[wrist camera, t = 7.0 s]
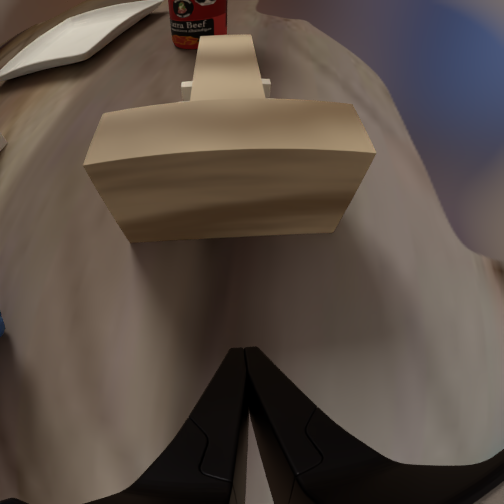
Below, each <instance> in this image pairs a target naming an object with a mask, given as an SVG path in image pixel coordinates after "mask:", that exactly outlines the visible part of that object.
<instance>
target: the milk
mask: <svg viewBox="0 0 504 504" xmlns="http://www.w3.org/2000/svg"><path fill="white" fill-rule="evenodd" d="M7 143H8V142H7V141H6V140H5V138H4V137H3V135H2V134H1V133H0V151H1V150H2V149H3V148H4V146H5V145H6V144H7Z"/></svg>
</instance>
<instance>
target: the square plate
mask: <svg viewBox="0 0 504 504" xmlns="http://www.w3.org/2000/svg"><path fill="white" fill-rule="evenodd" d="M163 1H164V0H146V1H138V2H131V3H124V4H118V5H113V6H109V7H104V8H100V9H96V10H93V11H89V12H86V13H83V14H80V15H77V16H74V17H71V18H68V19H67V20H65V21H63V22H62V23H60V24H59V25H57V26H55V27H54V28H52V29H51V30H49V31H48V32H46V33H45V34H43V35H42V36H40V37H39V38H37V39H36V40H35V41H33V42H32V43H31V44H29V45H28V46H27V47H25V48H24V49H23V50H22V51H21V52H19V53H18V54H17V55H16V56H15V57H14V58H13V59H12V60H11V61H9V62H8V63H7V64H6V65H5V66H4V67H3V68H2V69H1V70H0V81H4V80H9V79H12V78H16V77H19V76H22V75H26V74H29V73H33V72H37V71H40V70H44V69H49V68H53V67H58V66H62V65H67V64H72V63H76V62H80V61H84V60H87V59H88V58H90V57H91V56H93V55H94V54H95V53H97V52H98V51H100V50H101V49H102V48H103V47H105V46H106V45H107V44H108V43H110V42H111V41H112V40H113V39H115V38H116V37H117V36H119V35H120V34H121V33H123V32H124V31H125V30H127V29H128V28H130V27H131V26H132V25H134V24H135V23H137V22H138V21H139V20H140V19H142V18H144V17H145V16H147V15H148V14H150V13H151V12H153V11H154V10H155V9H157V8H158V7H159V6H160V4H161V3H162V2H163Z"/></svg>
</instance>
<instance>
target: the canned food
mask: <svg viewBox="0 0 504 504" xmlns="http://www.w3.org/2000/svg"><path fill="white" fill-rule="evenodd" d="M168 4H169V14H170V24H171V33H172V40H173V42H174V44H175V46H177V47H179V48H182V49H198V46H199V40H200V36H213V35H226V34H227V0H168Z"/></svg>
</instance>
